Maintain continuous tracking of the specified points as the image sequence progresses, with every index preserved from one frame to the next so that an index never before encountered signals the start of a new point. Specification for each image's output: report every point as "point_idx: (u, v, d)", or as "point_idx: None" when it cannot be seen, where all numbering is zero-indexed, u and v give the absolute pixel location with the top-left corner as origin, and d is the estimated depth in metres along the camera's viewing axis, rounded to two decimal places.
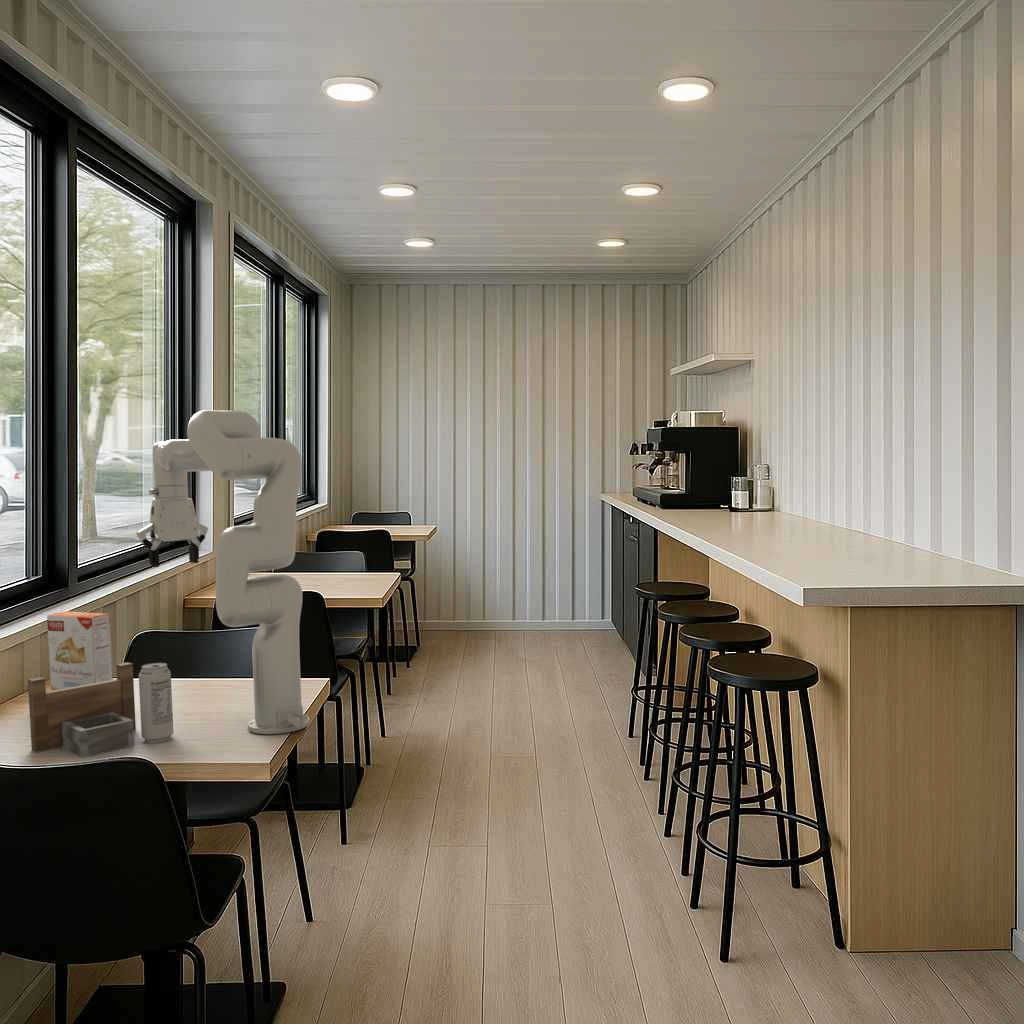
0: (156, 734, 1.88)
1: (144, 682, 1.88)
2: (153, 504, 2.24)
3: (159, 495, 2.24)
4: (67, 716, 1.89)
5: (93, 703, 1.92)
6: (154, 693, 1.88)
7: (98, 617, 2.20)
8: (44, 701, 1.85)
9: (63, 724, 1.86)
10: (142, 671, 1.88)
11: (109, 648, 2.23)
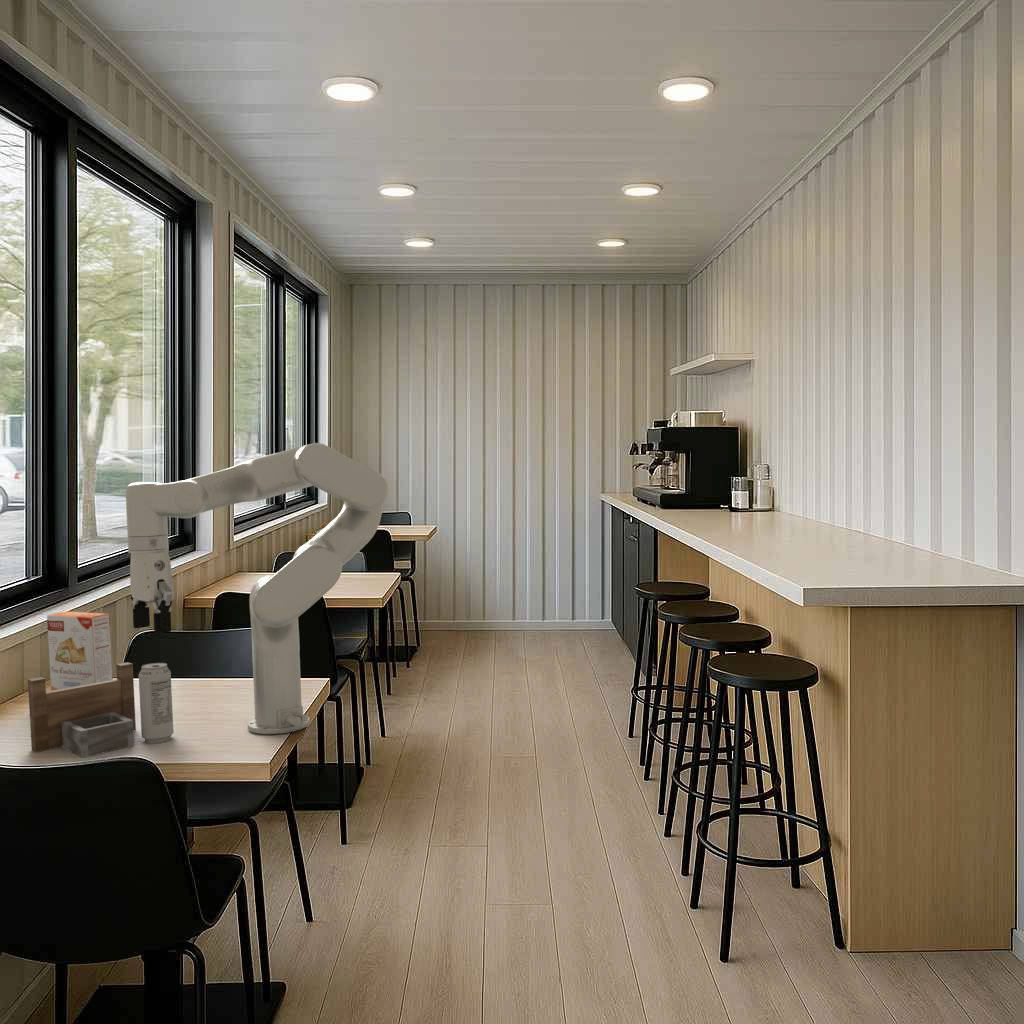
0: (156, 734, 1.88)
1: (144, 682, 1.88)
2: (160, 557, 1.86)
3: (162, 546, 1.87)
4: (67, 716, 1.89)
5: (93, 703, 1.92)
6: (154, 693, 1.88)
7: (98, 617, 2.20)
8: (44, 701, 1.85)
9: (63, 724, 1.86)
10: (142, 671, 1.88)
11: (109, 648, 2.23)
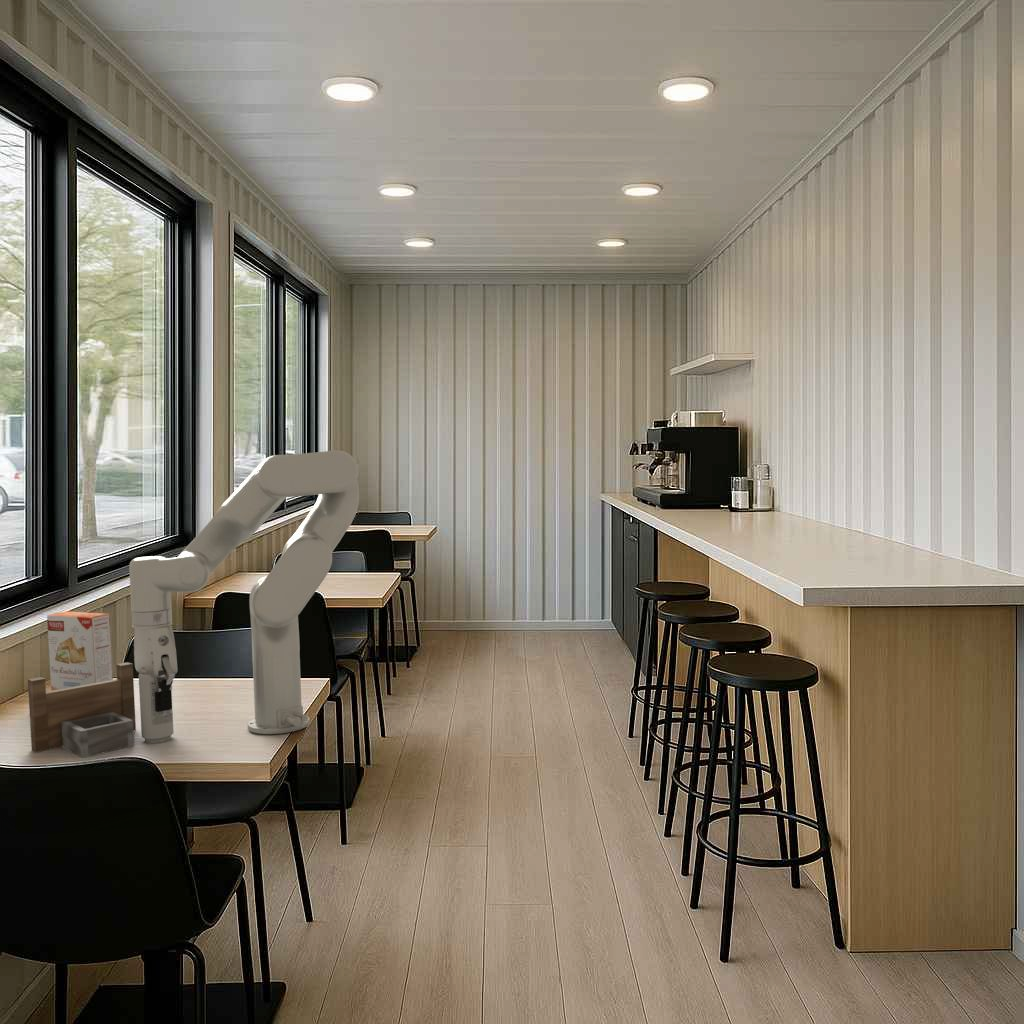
0: (156, 734, 1.88)
1: (144, 682, 1.88)
2: (163, 633, 1.87)
3: (166, 621, 1.88)
4: (67, 716, 1.89)
5: (93, 703, 1.92)
6: (154, 693, 1.88)
7: (98, 617, 2.20)
8: (44, 701, 1.85)
9: (63, 724, 1.86)
10: (142, 671, 1.88)
11: (109, 648, 2.23)
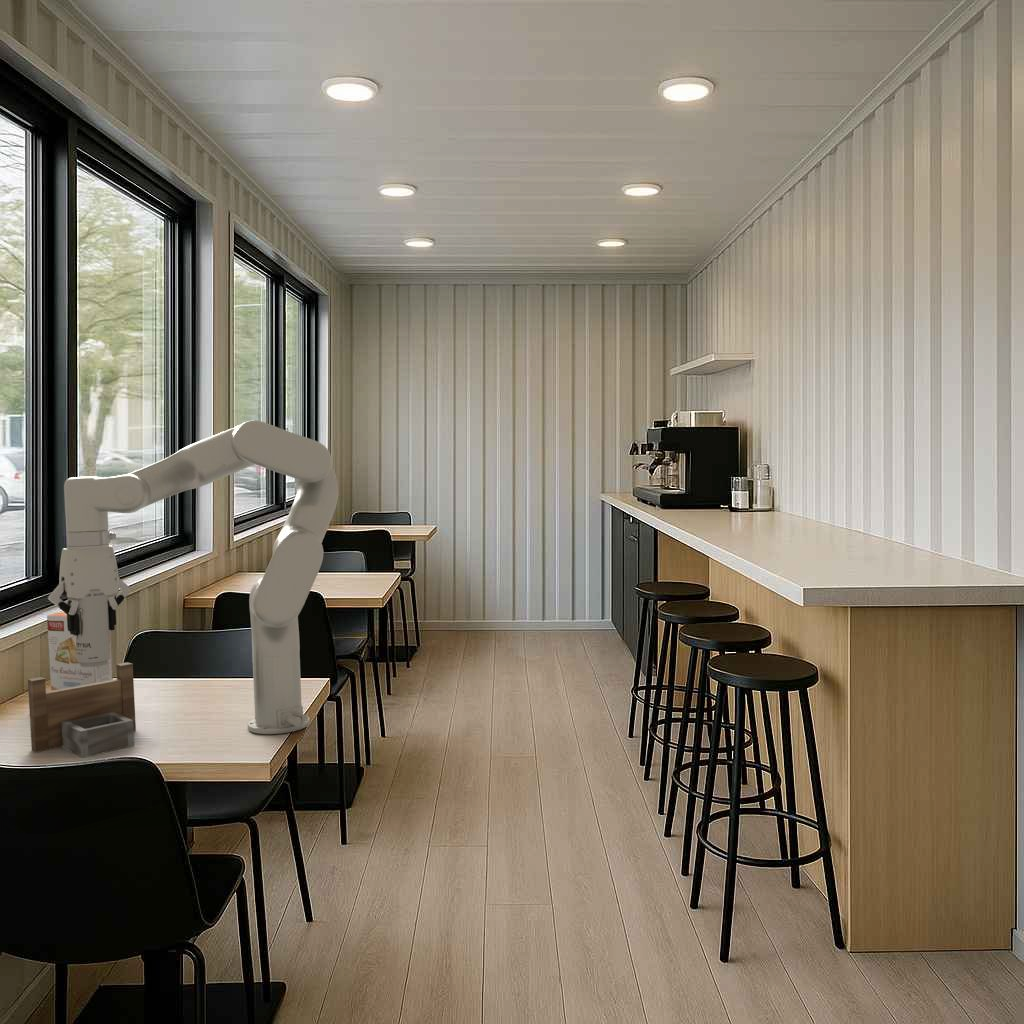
0: None
1: (103, 603, 1.85)
2: None
3: None
4: (67, 716, 1.89)
5: (93, 703, 1.92)
6: None
7: None
8: (44, 701, 1.85)
9: (63, 724, 1.86)
10: (96, 593, 1.84)
11: None
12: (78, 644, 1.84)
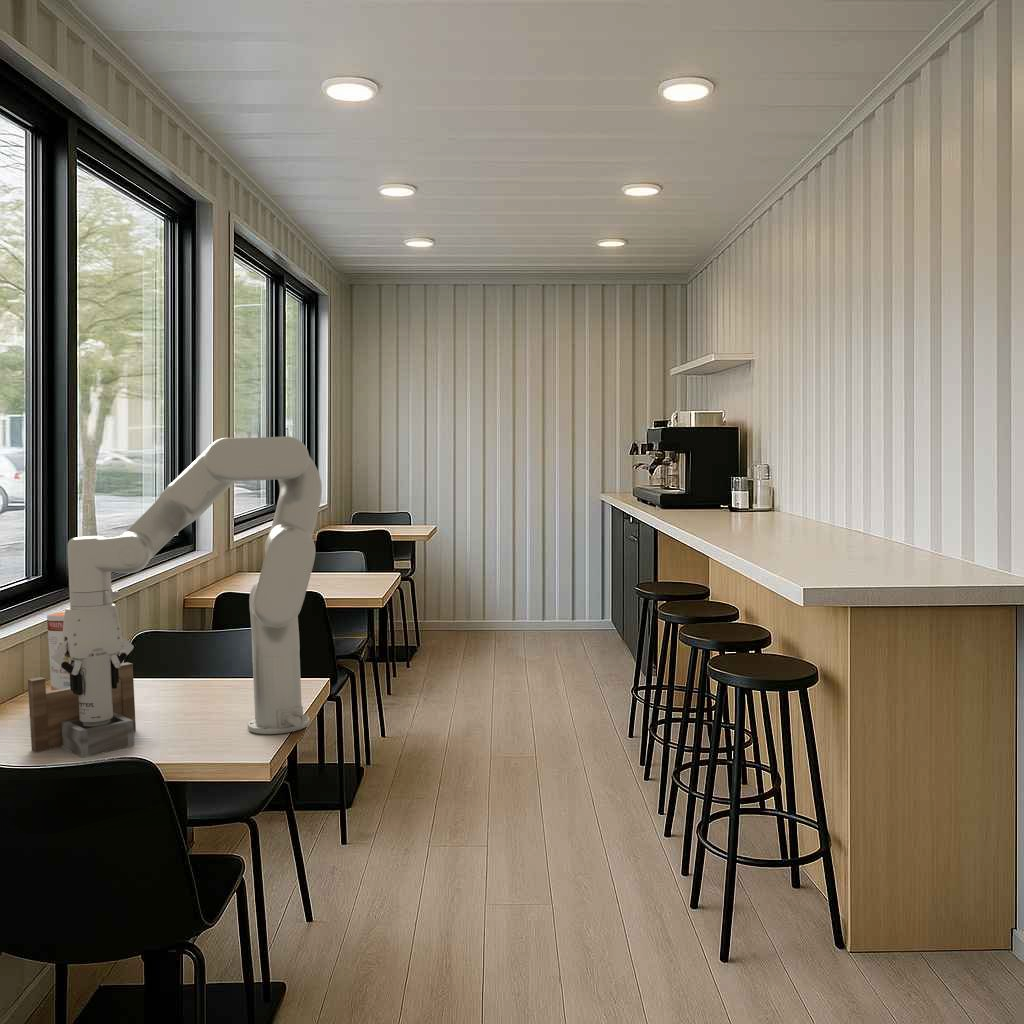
0: (112, 712, 1.88)
1: (105, 662, 1.85)
2: None
3: None
4: (67, 716, 1.89)
5: None
6: (110, 671, 1.87)
7: None
8: (44, 701, 1.85)
9: (63, 724, 1.86)
10: (99, 652, 1.84)
11: None
12: (81, 703, 1.84)
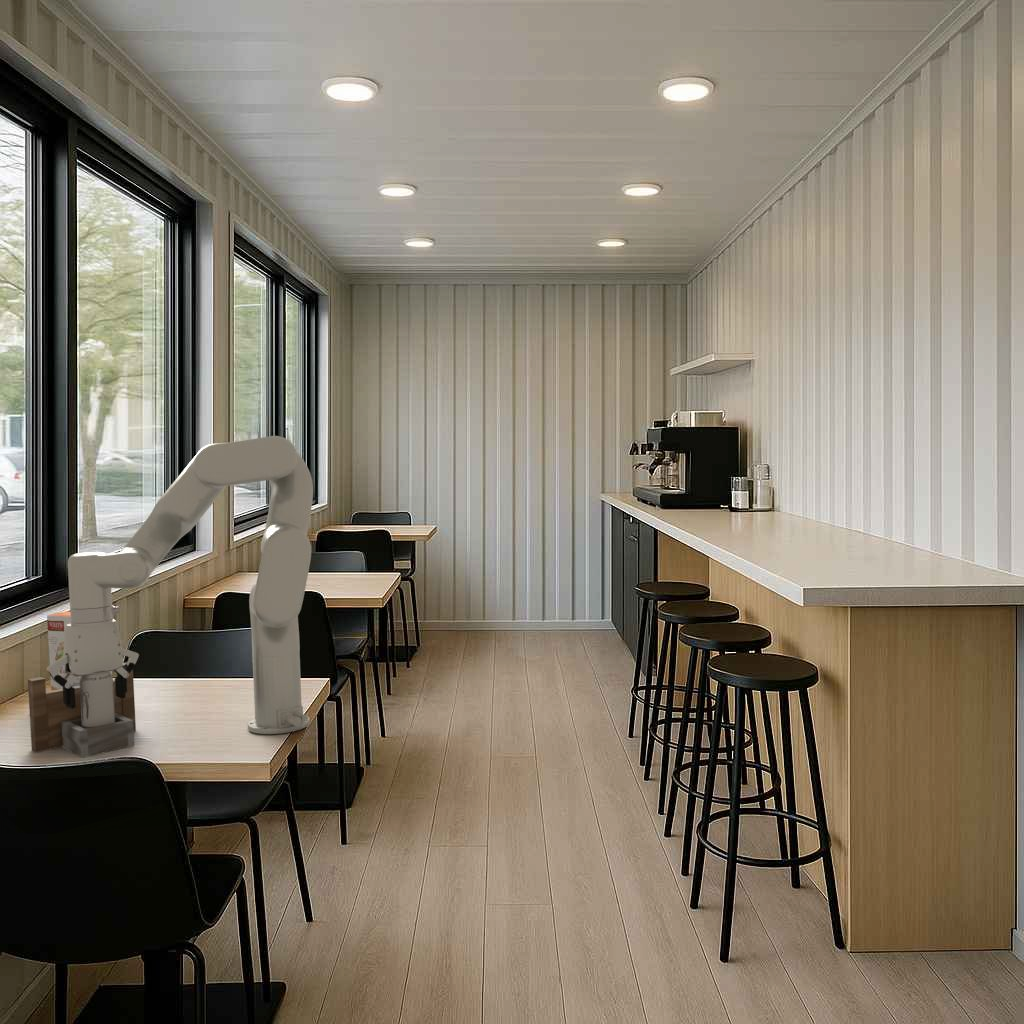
0: None
1: (108, 686, 1.86)
2: None
3: None
4: (67, 716, 1.89)
5: None
6: (113, 694, 1.88)
7: None
8: (44, 701, 1.85)
9: (63, 724, 1.86)
10: (101, 676, 1.85)
11: None
12: (84, 727, 1.85)
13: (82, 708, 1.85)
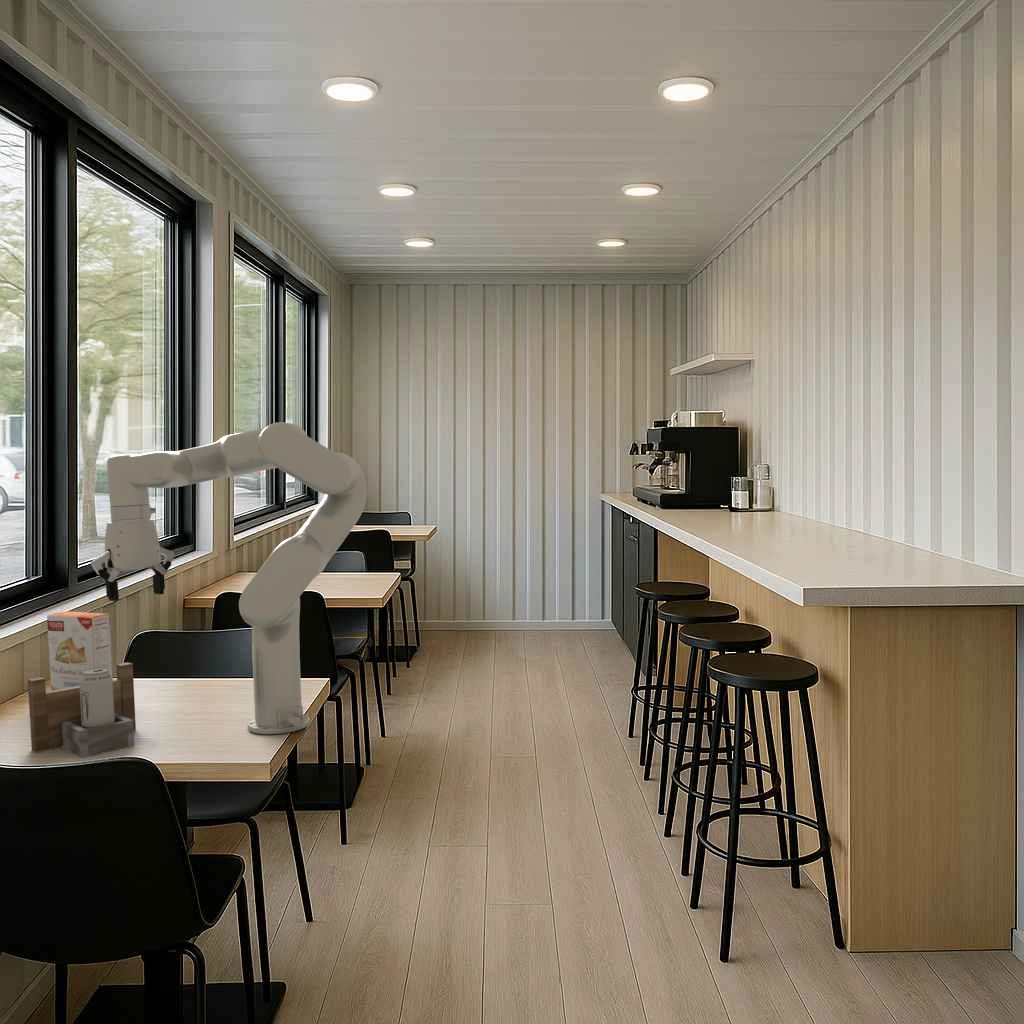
0: None
1: (108, 686, 1.86)
2: None
3: None
4: (67, 716, 1.89)
5: None
6: (113, 694, 1.88)
7: (98, 617, 2.20)
8: (44, 701, 1.85)
9: (63, 724, 1.86)
10: (101, 676, 1.85)
11: (109, 648, 2.23)
12: (84, 727, 1.85)
13: (82, 709, 1.85)
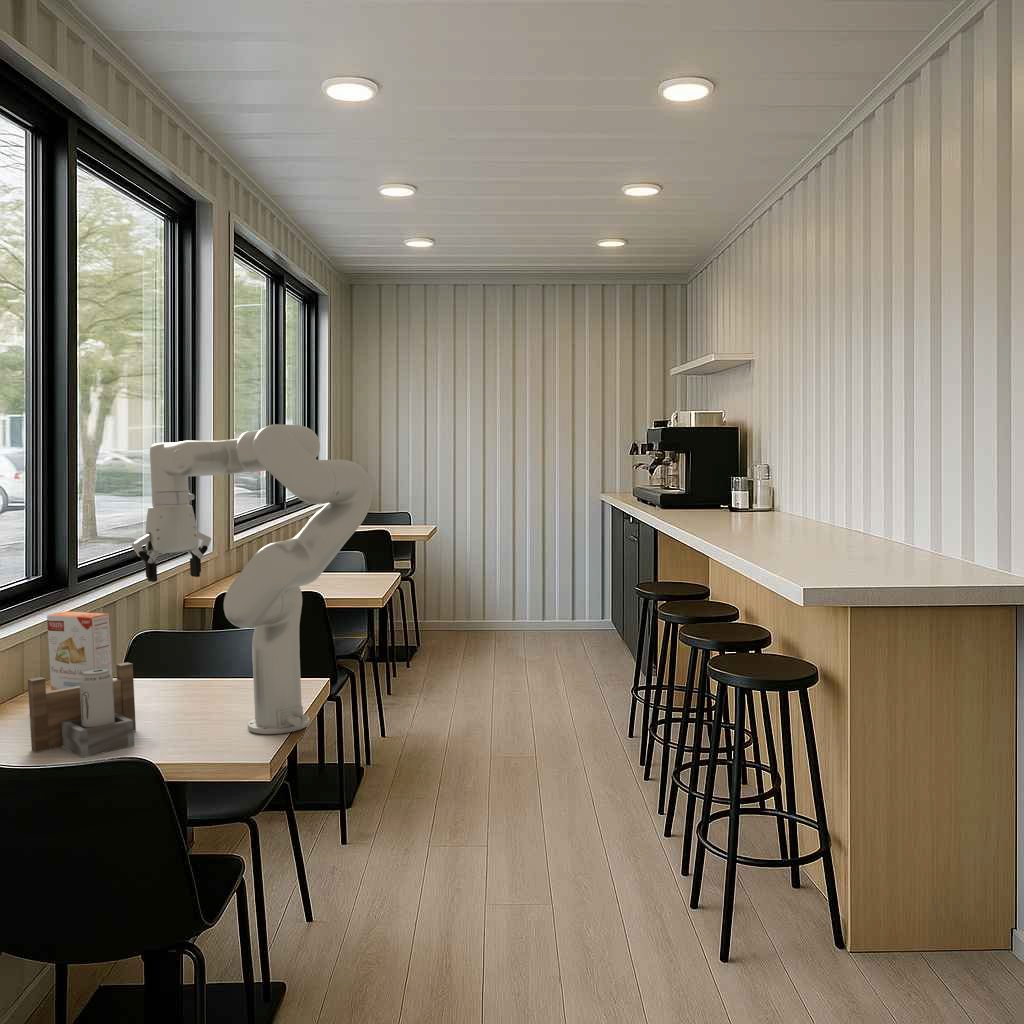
0: None
1: (108, 686, 1.86)
2: None
3: None
4: (67, 716, 1.89)
5: None
6: (113, 694, 1.88)
7: (98, 617, 2.20)
8: (44, 701, 1.85)
9: (63, 724, 1.86)
10: (101, 676, 1.85)
11: (109, 648, 2.23)
12: (84, 727, 1.85)
13: (82, 709, 1.85)
